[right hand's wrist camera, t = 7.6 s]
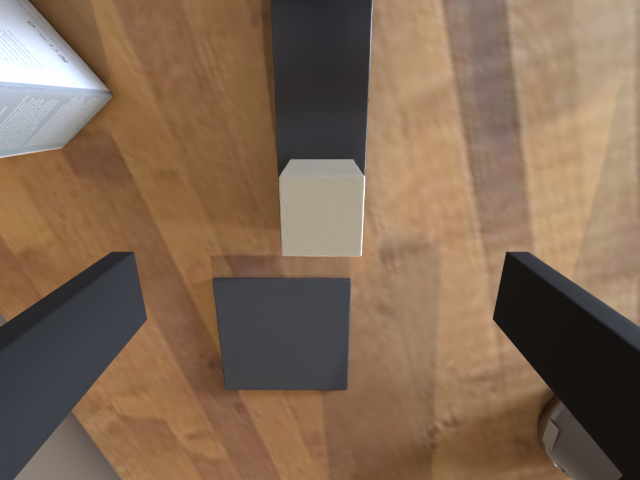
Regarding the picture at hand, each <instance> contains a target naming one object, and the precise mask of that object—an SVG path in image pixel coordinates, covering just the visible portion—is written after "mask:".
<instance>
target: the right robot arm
mask: <svg viewBox="0 0 640 480" xmlns="http://www.w3.org/2000/svg"><path fill="white" fill-rule="evenodd" d="M146 320H147V315H146V311H145V306H144V301H143V296H142V291H141V286H140V281H139V276H138V271H137V266H136V261H135V256H134V252H111V253H109V254H108V255H106V256H105V257H103V258H102V259H101V260H99V261H98V262H96V263H95V264H93V265H92V266H90V267H89V268H87V269H86V270H84V271H83V272H81V273H80V274H78V275H77V276H75V277H74V278H72V279H71V280H69V281H68V282H66V283H65V284H63V285H62V286H61V287H59V288H58V289H56V290H55V291H53V292H52V293H50V294H49V295H47V296H46V297H44V298H43V299H41V300H40V301H38V302H37V303H35V304H34V305H32V306H31V307H29V308H28V309H26V310H25V311H23V312H22V313H21V314H19V315H18V316H16V317H15V318H13V319H12V320H10V321H9V322H7V323H6V324H4V325H3V326H1V327H0V480H14V478H15V477H16V476H17V475H18V474H19V473H20V471H21V470H22V469H23V468H24V467H25V465H26V464H27V463H28V462H29V461H30V459H31V458H32V457H33V456H34V455H35V453H36V452H37V451H38V450H39V448H40V447H41V446H42V445H43V444H44V442H45V441H46V440H47V439H48V438H49V436H50V435H51V434H52V433H53V432H54V430H55V429H56V428H57V427H58V426H59V424H60V423H61V422H62V421H63V420H64V418H65V417H66V416H67V415H68V414H69V412H70V411H71V410H72V409H73V408H74V406H75V405H76V404H77V403H78V402H79V400H80V399H81V398H82V397H83V396H84V394H85V393H86V392H87V391H88V390H89V388H90V387H91V386H92V385H93V384H94V382H95V381H96V380H97V379H98V378H99V376H100V375H101V374H102V373H103V372H104V370H105V369H106V368H107V367H108V366H109V364H110V363H111V362H112V361H113V360H114V358H115V357H116V356H117V355H118V354H119V352H120V351H121V350H122V349H123V348H124V346H125V345H126V344H127V343H128V342H129V340H130V339H131V338H132V337H133V336H134V334H135V333H136V332H137V331H138V330H139V328H140V327H141V326H142V325H143V324H144V322H145V321H146ZM493 320H494V321H495V322H496V324H497V325H498V326H499V327H500V328H501V330H502V331H503V332H504V333H505V334H506V336H507V337H508V338H509V339H510V340H511V342H512V343H513V344H514V345H515V346H516V348H517V349H518V350H519V351H520V352H521V354H522V355H523V356H524V357H525V358H526V360H527V361H528V362H529V363H530V364H531V366H532V367H533V368H534V369H535V370H536V372H537V373H538V374H539V375H540V376H541V378H542V379H543V380H544V381H545V382H546V384H547V385H548V386H549V387H550V388H551V390H552V391H553V392H554V393H555V394H556V397H554V398H553V400H552V401H551V402H550V403H549V404H548V406H547V407H546V408H545V410H544V412H543V414H542V416H541V418H540V421H539V425H538V437H539V441H540V443H541V445H542V447H543V449H544V450H545V452H546V453H547V455H548V456H549V458H550V459H551V461H552V462H553V463H554V465H555V466H556V467H558V468H559V469H560V470H561V471H562V472H563V473H565V474H566V475H567V476H569V477H570V478H572V479H573V480H640V327H639V326H637V325H636V324H634V323H633V322H631V321H630V320H628V319H627V318H625V317H624V316H622V315H621V314H619V313H618V312H617V311H615V310H614V309H612V308H611V307H609V306H608V305H606V304H605V303H603V302H602V301H600V300H599V299H597V298H596V297H594V296H593V295H591V294H590V293H588V292H587V291H585V290H584V289H582V288H581V287H579V286H578V285H577V284H575V283H574V282H572V281H571V280H569V279H568V278H566V277H565V276H563V275H562V274H560V273H559V272H557V271H556V270H554V269H553V268H551V267H550V266H548V265H547V264H545V263H544V262H542V261H541V260H539V259H538V258H537V257H535V256H534V255H532V254H531V253H529V252H506V256H505V261H504V266H503V271H502V276H501V281H500V286H499V291H498V296H497V301H496V306H495V311H494V315H493Z"/></svg>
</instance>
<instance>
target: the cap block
mask: <svg viewBox="0 0 640 480" xmlns="http://www.w3.org/2000/svg"><path fill="white" fill-rule="evenodd" d="M364 189H365V177H364V175H363V174H362V172H361V171H360V169H359V168H358V166H357V165H356V164H355V162H354V161H353V160H352V159H291V160H290V161H289V162H288V164H287V165H286V167H285V168H284V170H283V172H282V173H281V175H280V176H279V197H280V221H281V246H282V256H361V255H362V233H363V211H364Z"/></svg>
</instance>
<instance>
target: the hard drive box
mask: <svg viewBox="0 0 640 480" xmlns="http://www.w3.org/2000/svg"><path fill="white" fill-rule="evenodd" d="M112 97H113V94H112V92H111V91H110V90H109V89H108V88H107V87H106V86H105V85H104V83H103V82H102V81H101V80H100V79H99V78H98V77H97V76H96V75H95V74H94V73H93V72H92V70H91V69H90V68H89V67H88V65H87V64H86V63H85V62H84V61H83V60H82V59H81V58H80V57H79V56H78V55H77V53H76V52H75V51H74V50H73V49H72V48H71V47H70V46H69V45H68V44H67V43H66V42H65V41H64V39H63V38H62V37H61V36H60V35H59V34H58V33H57V32H56V31H55V29H54V28H53V27H52V26H51V25H50V24H49V23H48V21H47V20H46V19H45V18H44V17H43V16H42V15H41V14H40V13H39V12H38V11H37V9H36V8H35V7H34V6H33V5H32V4H31V3H30V2H29V1H28V0H0V158H4V157H10V156H16V155H22V154H28V153H35V152H41V151H47V150H54V149H60V148H63V147H64V146H65V145H66V144H67V143H68V142H69V141H70V140H71V139H72V138H73V137H74V136H75V135H76V134H77V133H78V132H79V131H80V130H81V129H82V128H83V127H84V126H85V125H86V124H87V123H88V122H89V121H90V120H91V119H92V118H93V117H94V116H95V115H96V114H97V113H98V112H99V111H100V110H101V109H102V108H103V107H104V106H105V105H106V103H107V102H108V101H109V100H110V99H111V98H112Z"/></svg>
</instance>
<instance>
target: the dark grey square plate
mask: <svg viewBox="0 0 640 480" xmlns="http://www.w3.org/2000/svg"><path fill="white" fill-rule="evenodd" d="M213 287H214V295H215V304H216V312H217V320H218V329H219V337H220V346H221V354H222V363H223V371H224V380H225V388H226V390H347V379H348V351H349V322H350V293H351V279H266V278H215V279H214V280H213Z"/></svg>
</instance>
